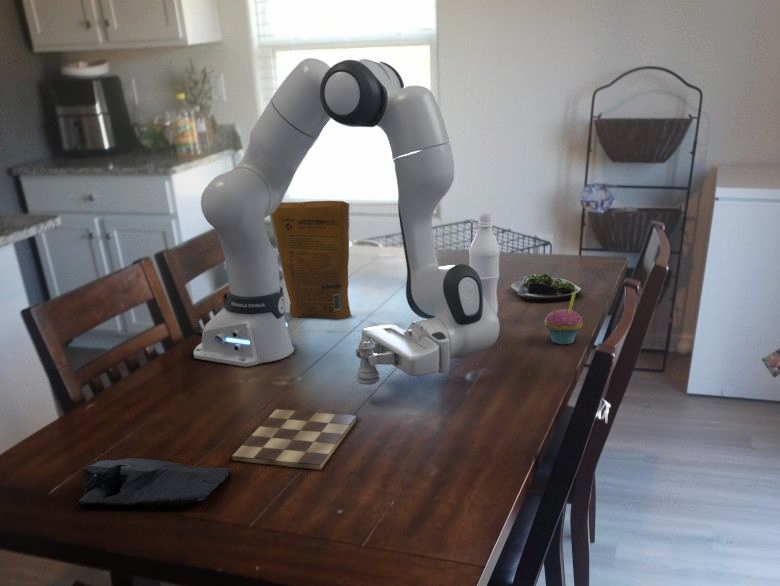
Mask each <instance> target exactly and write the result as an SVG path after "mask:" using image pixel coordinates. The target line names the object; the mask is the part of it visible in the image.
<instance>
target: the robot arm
mask: <svg viewBox="0 0 780 586" xmlns="http://www.w3.org/2000/svg"><path fill="white" fill-rule="evenodd" d="M331 120H333V122H336V123H338V124H340V125H342V126H345V127H351V128H358V127H359V128H374V127H377V128H379V130H381V131H382V132H383V134H384V135H385V137H386V140H387V143H388V146H389V150H390V151H389V152H390V155H391V159H392V163H393V167H394V173H395V179H396V185H397V193H398V194H397V207H398V208H397V210H398V219H399V226H400V233H401V239H402V245H403V252H404V259H405V263H406V273H407V274H406V284H405V297H406V301H407V304H408V306H409V308H410V309H411V311H412V312H413V313H414V314H415V315H416V316H418V317H420V318H422V320H418V321H413V322H411V323H410V325H409V326H408V328H407V330H405V329H403V328H402V327H399V326H398V325H394V324H385V325H377V326H370V327H366V328H364V329H362V330H361V340H362V339H364V341H366V339H369V341H370V339H372V341H373V343H374V345H375V347H374V349H373V352H374V353H372V354H368V355H367V356H366V359H367V360H366V362H367V363H368V364H370V365H371V366H373V365H375V366H377V365H379V366H380V365H383V366H384V365H385V366H391V365H392V366H393V367H395V368H397V369H399V370H400V371H401V372H403V373H405V374H406V375H408V376H409V377H421V376H427V375H432V374H436V373H440V374H443V373H447V372H449V371H450V360H451V359H463V358H468V357H470V356H474V355H477V354H480V353H483V352H485V351H487V350H489V349H491V348H492V347H493V346H494V345H495V343H496V342H497V341H498V338H499V335H500V329H501V328H500V327H501V326H500V319H499V316H498V314H497V315H496V313H495V312H494V311H493V310H492V309H491V308H490V307H489V305H488V303H487V302H486V299H485V297H484V294H483V289H482V282H481V279H480V277H479V275H478V273H477V272H476V271H475V270H474V269H473V268H471V267H470V266H469V265H468V264H463V263H461V264H460V263H459V264H452V265H445V266H441V265H440V264H439V262H438V259H437V252H436V246H435V245H436V244H435V239H434V232H433V216H434V213H435V211H436V208H437V206H438V205H439V204H440V202H441V200H442V199H444V197H445V196H446V195H447V194H448V192H449V191H450V189H451V187H452V185H453V182H454V179H455V161H454V156H453V151H452V147H451V143H450V138H449V134H448V131H447V130H448V129H447V127H446V124H445V120H444V117H443V114H442V112H441V109H440V107H439V105H438V102H437V99H436V97H435V95H434V94H433V92H432V90H430V89H429V88H427V87H425V86H422V85H407V86H405V83H404V80H403V78H402V77H401V75H400V73H399V71H398V70H397V69H396V68H394V66H392V65H390V64H388V63H387V62H384V61H378V60H374V59H370V58H361V59H344V60H341V61H339V62H337V63H335V64H333V65H332V66H330V64H327V62H324V61H323V60H321V59H318V58H313V57H309V58H305V59H303V60H301V61H300V62H298V64H297V65H296V66H295V67H294V68H293V69H292V70H291V71H290V73H289V74H288V75H287V76H286V77H285V78H284V80H283V81H282V83H281V84H280V85H279V86H278V88H277V89H276V91H275V92H274V93H273V95H272V97H271V98H270V100H269V101H268V104H267V105H266V107H265V108H264V110H263V111H262V113H261V115H260V116H259V118H258V119H257V121H256V123H255V124H254V126H253V127H252V129H251V131H250V135H249V138H250V139H249V141H248V145H247V147H246V150H245V153H244V155H243V156H242V158H241V160H240V162H239V163H238V164H237V165H236V166H235V167H233V169H231V170H228V171H225V172H224V173H221V174H219V175H216V176H215V177H214V178H213V179H212V180H211V181H210V182H208V185H207V186H206V187H205V188H204V190H203V192H202V194H201V197H200V208H201V212H202V215H203V217H204V218H205V220H206V221H207V223H208V224H209V225H210V226H211V227H212V228H213V229H214V231H215V233H216V235H217V238H218V240H219V243H220V245H221V246H220V247H221V249H222V252H223V256H224V261H225V268H226V273H227V274H226V275H227V282H228V289H227V291H225V292H224V293H223V294H222V295H221V296H220V297H219V299H220V300H219V303H224V304H223V308H222V309H221V310H219V311H218V312H217V313H216V314H215V315H214V316H213V317H211V319H210V320H209V321H208V322H206V324H205V325H204V327H203V330H201V329H197V330H196V333H197V334H198V335H199V336H201V342H200V343H199V344H198V345H197V346H196V347H195V348H194V349H193V358H194V359H197V360H203V361H209V362H213V363H214V362H215V363H220V364H227V365H233V366H239V367H245V368H246V367H247V368H248V367H252V366H256V365H259V364H263V363H271V362H275V361H278V360H282V359H285V358H287V357H289V356H291V355H292V354H293V353H294V352H295V347H294V345H293V343H292V340H291V337H290V335H289V334H290V333H289V330H288V323H287V322H286V316H285V313H286V310H285V309H286V304H285V295H284V290H283V287H282V286H281V276H280V266H279V254H278V250H277V248H275V247H274V246H273V245H272V243H271V240H270V238H269V237H270V236H269V234H268V232H267V228H266V224H265V220H266V219H265V218H267V217H270V215H271V214H272V213H273V212H274V211H275V210H276V209H277V208H278V206H279V205H280V203H281V202H283V200H284V197H285V195H286V193H287V192H288V189H289V187H290V185H291V183H292V181H293V179H294V177H295V175H296V172H297V171H298V169H299V167H300V166H301V164H302V162H304V160H305V158H306V157H307V156H308V154H309V152H310V151H311V149H312V148H313V147H314V145H315V144H316V142H317V140H318V139H319V137H320V136H321V134H322V133H323V131H324V130H325V128H326V127H327V125H328V124H329V122H330V121H331ZM360 352H361V350H360V349H359V347H357V348H356V349H355V355H356V357H357V358H359V359H360V360H361V355H360Z"/></svg>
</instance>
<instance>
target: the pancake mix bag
mask: <svg viewBox="0 0 780 586" xmlns="http://www.w3.org/2000/svg"><path fill="white" fill-rule="evenodd" d="M269 219H270V223H271V226H272V230H273V231H272V232H273V236H274V241H275V247H276V251H277V255H278V260H279V263H280V266H281V271H282V275H283V279H284V284H285V288H286V292H287V296H288V299H289V314H290V315H291V316H293V317H295V318H300V319H301V318H302V319H303V318H304V319H325V320H344V319H347V318H350V317H352V313H351V309H350V300H349V261H350V260H349V259H350V203H349V202H346V201H343V200H310V201H300V202H299V201H298V202H297V201H295V202H294V201H293V202H291V201H289V202H285V201H284V202H283V201H282V202H281V203H280V205H279V206H278V208H277V209H276V210H275V211H274V212H273V213H272V214H271V215H269Z"/></svg>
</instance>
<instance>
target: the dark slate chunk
mask: <svg viewBox="0 0 780 586" xmlns="http://www.w3.org/2000/svg"><path fill="white" fill-rule="evenodd" d="M229 471H230V469H229V468H227V467H204V466H203V467H202V466H194V465H188V464H184V463H179V462H171V461H167V460H166V461H165V460H158V459H147V458H135V457H134V458H133V457H126V458H125V457H124V458H122V459H116V460H115V459H114V460H112V459H110V460H108V459H107V460H98V461H96V462H94V463H93V464H88V465H87V466H85V467H83V468H82V476H83V495H82V497H81V498H80V499H79V500H78V503H79V504H81V505H85V506H93V505H103V506H106V507H109V506H112V507H118V506H119V507H129V508H130V507H134V506H146V507H150V506H151V507H152V506H155V507H160V506H174V507H175V506H182V507H185V506H186V505H190V504H195V503H201V502H203V501H204V500H205V499H206V498H207V497H208V496H209V495H210V494H212V492H213V491H214V490H216V489H217V488H218V486H220V485H221V484H223V483H224V482H225V480H226V479H227V478H228V477H229V474H230V472H229ZM118 489H119V492H118V493H116V494H114V493H115V491H117V490H118ZM113 494H114V495H113Z"/></svg>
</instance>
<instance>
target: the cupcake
mask: <svg viewBox="0 0 780 586" xmlns="http://www.w3.org/2000/svg"><path fill="white" fill-rule="evenodd" d="M575 291H576V289H575ZM575 291H574V292H573V293H572V298H571V300H570V301H569V306H568V308H565V309H555V310H553V311H551V312H549V313H548V314H547V315H545V319H544V326H545V328H547V329H548V331H549V334H550V338H551V341H552V342H553V343H554V344H557V345H571V344H572V343H574V342H575V341H574V340H575V338H576V335H577V333H578V332H579V330H581V329H582V327H583V324H584V321H585V319H584V318H583V317H582V316H581V314H580V313H578V311H575V310H573V305H574V301H575V299H576V298H575V294H576V293H575Z"/></svg>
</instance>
